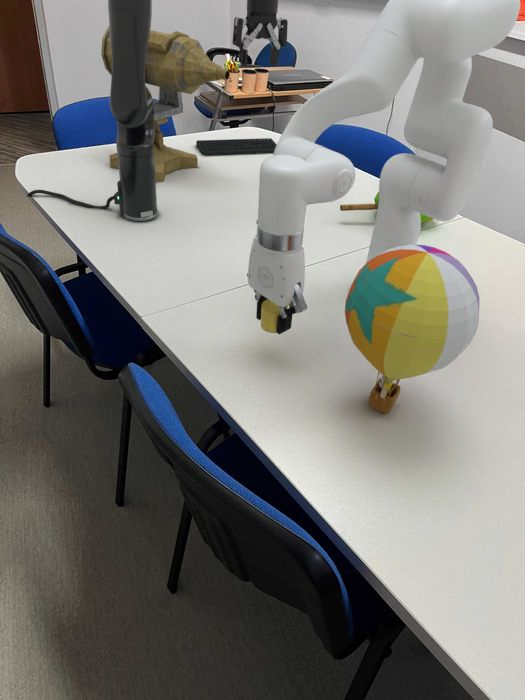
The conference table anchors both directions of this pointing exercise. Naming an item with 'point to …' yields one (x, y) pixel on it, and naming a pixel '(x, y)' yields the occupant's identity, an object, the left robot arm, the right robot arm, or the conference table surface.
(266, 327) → the canister
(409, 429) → the conference table surface
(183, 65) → the telescope
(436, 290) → the toy
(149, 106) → the left robot arm
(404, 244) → the right robot arm
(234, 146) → the keyboard
